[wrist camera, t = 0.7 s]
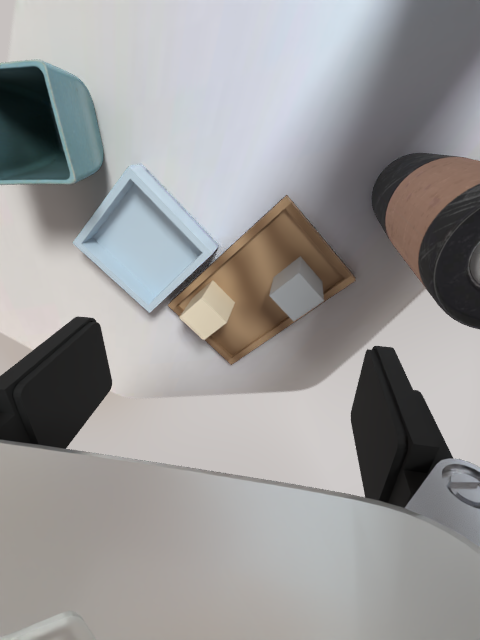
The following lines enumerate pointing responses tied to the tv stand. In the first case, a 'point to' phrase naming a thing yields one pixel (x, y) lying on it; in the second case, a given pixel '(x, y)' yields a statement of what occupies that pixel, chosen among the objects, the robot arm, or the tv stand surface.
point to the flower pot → (46, 126)
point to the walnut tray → (264, 278)
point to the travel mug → (436, 226)
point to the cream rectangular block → (208, 310)
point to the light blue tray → (144, 238)
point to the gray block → (297, 289)
